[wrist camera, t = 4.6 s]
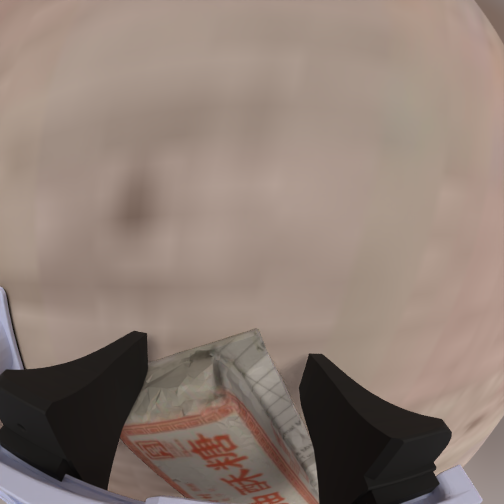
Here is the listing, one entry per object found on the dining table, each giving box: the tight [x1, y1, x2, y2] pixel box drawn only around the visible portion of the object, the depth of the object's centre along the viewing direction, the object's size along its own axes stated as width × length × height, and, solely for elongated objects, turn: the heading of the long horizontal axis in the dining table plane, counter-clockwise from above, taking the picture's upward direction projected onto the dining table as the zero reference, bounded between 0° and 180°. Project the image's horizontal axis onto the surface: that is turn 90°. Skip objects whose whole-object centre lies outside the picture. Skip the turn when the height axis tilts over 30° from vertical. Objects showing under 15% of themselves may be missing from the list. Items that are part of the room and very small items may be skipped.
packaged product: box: [120, 329, 319, 504], centre depth 13 cm, size 18×5×10 cm
